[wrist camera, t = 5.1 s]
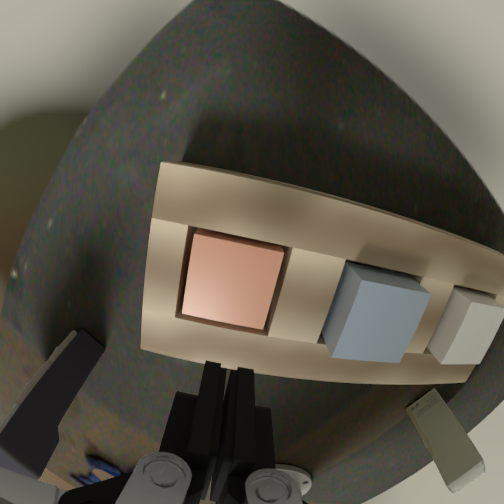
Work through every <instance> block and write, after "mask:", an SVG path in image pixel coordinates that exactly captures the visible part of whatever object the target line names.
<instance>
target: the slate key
mask: <svg viewBox="0 0 504 504" xmlns="http://www.w3.org/2000/svg"><path fill="white" fill-rule="evenodd" d="M430 297H431V293H430V292H428V291H427V290H426V289H425V288H424V287H422V286H421V285H420V284H419V283H418V282H416V281H415V280H414V279H413V278H411V277H410V276H408V275H404V274H399V273H395V272H390V271H386V270H382V269H377V268H373V267H368V266H364V265H359V264H355V263H350V262H346V261H345V264H344V267H343V270H342V273H341V276H340V279H339V282H338V285H337V288H336V291H335V294H334V297H333V300H332V303H331V306H330V308H329V311H328V314H327V317H326V319H325V322H324V325H323V327H322V330H321V333H322V335H323V338H324V340H325V343H326V345H327V348H328V350H329V353H330V355H331V358H340V359H351V360H362V361H375V362H390V363H400V361H401V359H402V357H403V355H404V353H405V351H406V349H407V347H408V345H409V343H410V341H411V339H412V337H413V335H414V333H415V331H416V329H417V327H418V324H419V322H420V320H421V318H422V316H423V313H424V311H425V309H426V306H427V304H428V302H429V299H430Z"/></svg>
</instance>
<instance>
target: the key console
mask: <svg viewBox="0 0 504 504" xmlns="http://www.w3.org/2000/svg"><path fill="white" fill-rule="evenodd" d="M198 228H204V229H208V230H213V231H218V232H223V233H228V234H232V235H237V236H242V237H247V238H251V239H256V240H261V241H265V242H270V243H275V244H279V245H281V246H282V248H283V251H284V256H283V259H282V263H281V267H280V271H279V274H278V278H277V282H276V285H275V289H274V293H273V296H272V300H271V303H270V307H269V311H268V314H267V318H266V321H265V325H264V328H263V330H262V329H256V328H251V327H245V326H240V325H235V324H229V323H224V322H219V321H214V320H210V319H205V318H200V317H195V316H191V315H186V314H182V309H183V301H184V294H185V287H186V281H187V274H188V268H189V262H190V255H191V249H192V243H193V238H194V233H195V232H196V231H197V229H198ZM345 261H346V262H350V263H355V264H359V265H364V266H368V267H373V268H377V269H382V270H386V271H390V272H395V273H399V274H404V275H408V276H410V277H411V278H413V279H414V280H415V281H416V282H418V283H419V284H420V285H421V286H422V287H424V288H425V289H426V290H427V291H428V292H430V293H431V297H430V299H429V302H428V304H427V306H426V309H425V311H424V313H423V316H422V318H421V320H420V322H419V324H418V327H417V329H416V331H415V333H414V335H413V337H412V339H411V341H410V343H409V345H408V347H407V349H406V351H405V353H404V355H403V357H402V359H401V361H400V363H390V362H375V361H362V360H351V359H340V358H331V355H330V353H329V350H328V348H327V345H326V343H325V340H324V338H323V335H322V333H321V330H322V327H323V325H324V322H325V319H326V317H327V314H328V311H329V308H330V306H331V303H332V300H333V297H334V294H335V291H336V288H337V285H338V282H339V279H340V276H341V273H342V270H343V267H344V264H345ZM454 286H456V287H460V288H464V289H469V290H473V291H477V292H481V293H486V294H487V295H489V296H490V297H492V298H493V299H494V300H496V301H497V302H499V303H500V304H501V305H503V306H504V254H502V253H500V252H498V251H496V250H494V249H492V248H489V247H487V246H485V245H482V244H480V243H477V242H475V241H472V240H469V239H467V238H464V237H462V236H459V235H456V234H454V233H451V232H448V231H445V230H443V229H440V228H437V227H434V226H431V225H428V224H425V223H423V222H420V221H417V220H414V219H411V218H408V217H405V216H401V215H398V214H395V213H392V212H389V211H386V210H383V209H379V208H376V207H373V206H369V205H366V204H363V203H359V202H356V201H352V200H349V199H345V198H342V197H338V196H334V195H331V194H327V193H323V192H320V191H316V190H312V189H308V188H304V187H300V186H296V185H292V184H288V183H284V182H280V181H275V180H271V179H267V178H262V177H258V176H253V175H249V174H244V173H239V172H235V171H230V170H225V169H220V168H215V167H210V166H204V165H199V164H193V163H188V162H182V161H175V162H161V165H160V171H159V176H158V182H157V188H156V194H155V200H154V207H153V213H152V220H151V228H150V235H149V244H148V252H147V262H146V272H145V283H144V295H143V310H142V328H141V349H144V350H147V351H151V352H155V353H159V354H163V355H167V356H171V357H175V358H180V359H184V360H189V361H193V362H198V363H203V364H205V361H206V360H207V361H211V362H216V363H221V367H223V368H229V369H234V370H237V368H238V367H243V368H249V369H254V373H259V374H266V375H273V376H281V377H289V378H298V379H307V380H317V381H329V382H343V383H360V384H393V385H415V384H447V383H463V382H466V380H467V379H468V377H469V376H470V374H471V372H472V371H473V369H474V367H475V365H476V364H440V363H439V362H438V360H437V359H436V358H435V357H434V355H433V354H432V353H431V352H430V350H429V349H428V348H427V347H426V346H427V345H428V343H429V341H430V339H431V337H432V335H433V332H434V330H435V328H436V326H437V324H438V322H439V320H440V318H441V315H442V313H443V311H444V309H445V306H446V304H447V302H448V299H449V297H450V294H451V292H452V290H453V287H454Z"/></svg>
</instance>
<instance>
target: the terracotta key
mask: <svg viewBox="0 0 504 504" xmlns="http://www.w3.org/2000/svg"><path fill="white" fill-rule="evenodd" d="M283 256H284V251H283V248H282V246H281V245H279V244H275V243H270V242H265V241H261V240H256V239H251V238H247V237H242V236H237V235H232V234H228V233H223V232H218V231H213V230H208V229H204V228H198V229H197V231H196V232H195V233H194V238H193V243H192V249H191V255H190V262H189V268H188V274H187V281H186V287H185V294H184V301H183V309H182V314H186V315H191V316H195V317H200V318H205V319H210V320H214V321H219V322H224V323H229V324H235V325H240V326H245V327H251V328H256V329H262V330H263V328H264V325H265V321H266V318H267V314H268V311H269V307H270V303H271V300H272V296H273V293H274V289H275V285H276V282H277V278H278V274H279V271H280V267H281V263H282V259H283Z"/></svg>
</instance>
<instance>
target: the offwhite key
mask: <svg viewBox="0 0 504 504" xmlns="http://www.w3.org/2000/svg"><path fill="white" fill-rule="evenodd" d="M503 318H504V306H503V305H501V304H500V303H499V302H497V301H496V300H494V299H493V298H492V297H490V296H489V295H487V294H486V293H481V292H477V291H473V290H469V289H464V288H460V287H456V286H454V287H453V290H452V292H451V294H450V297H449V299H448V302H447V304H446V306H445V309H444V311H443V313H442V315H441V318H440V320H439V322H438V324H437V326H436V328H435V330H434V332H433V335H432V337H431V339H430V341H429V343H428V345H427V346H426V347H427V348H428V349H429V350H430V352H431V353H432V354H433V355H434V357H435V358H436V359H437V360H438V362H439V363H440V364H480V363H481V361H482V359H483V357H484V355H485V354H486V352H487V350H488V348H489V346H490V344H491V342H492V340H493V339H494V337H495V335H496V333H497V331H498V328H499V326H500V324H501V322H502V320H503Z"/></svg>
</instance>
